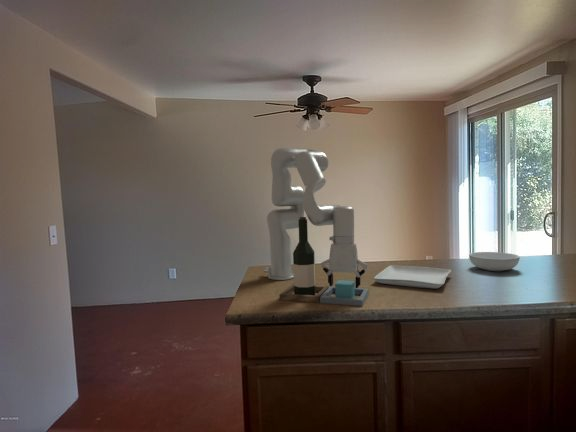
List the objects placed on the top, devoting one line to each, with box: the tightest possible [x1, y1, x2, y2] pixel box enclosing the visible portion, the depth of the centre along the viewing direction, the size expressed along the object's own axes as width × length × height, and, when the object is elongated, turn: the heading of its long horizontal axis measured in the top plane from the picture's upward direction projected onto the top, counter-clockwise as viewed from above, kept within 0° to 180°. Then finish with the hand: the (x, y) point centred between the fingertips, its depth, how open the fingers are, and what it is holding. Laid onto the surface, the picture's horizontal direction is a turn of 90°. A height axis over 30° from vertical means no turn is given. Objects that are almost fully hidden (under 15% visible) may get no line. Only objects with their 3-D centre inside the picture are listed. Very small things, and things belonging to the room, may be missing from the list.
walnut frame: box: [279, 283, 330, 304], centre depth 142 cm, size 15×15×2 cm
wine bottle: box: [292, 216, 316, 296], centre depth 141 cm, size 8×8×30 cm
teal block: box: [334, 279, 356, 298], centre depth 136 cm, size 6×6×6 cm
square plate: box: [372, 265, 452, 289], centre depth 159 cm, size 27×27×4 cm
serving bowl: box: [468, 251, 521, 272], centre depth 175 cm, size 21×21×7 cm
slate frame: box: [319, 286, 370, 307], centre depth 136 cm, size 15×15×2 cm
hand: (344, 286), depth 136 cm, fingers open, 9 cm apart
